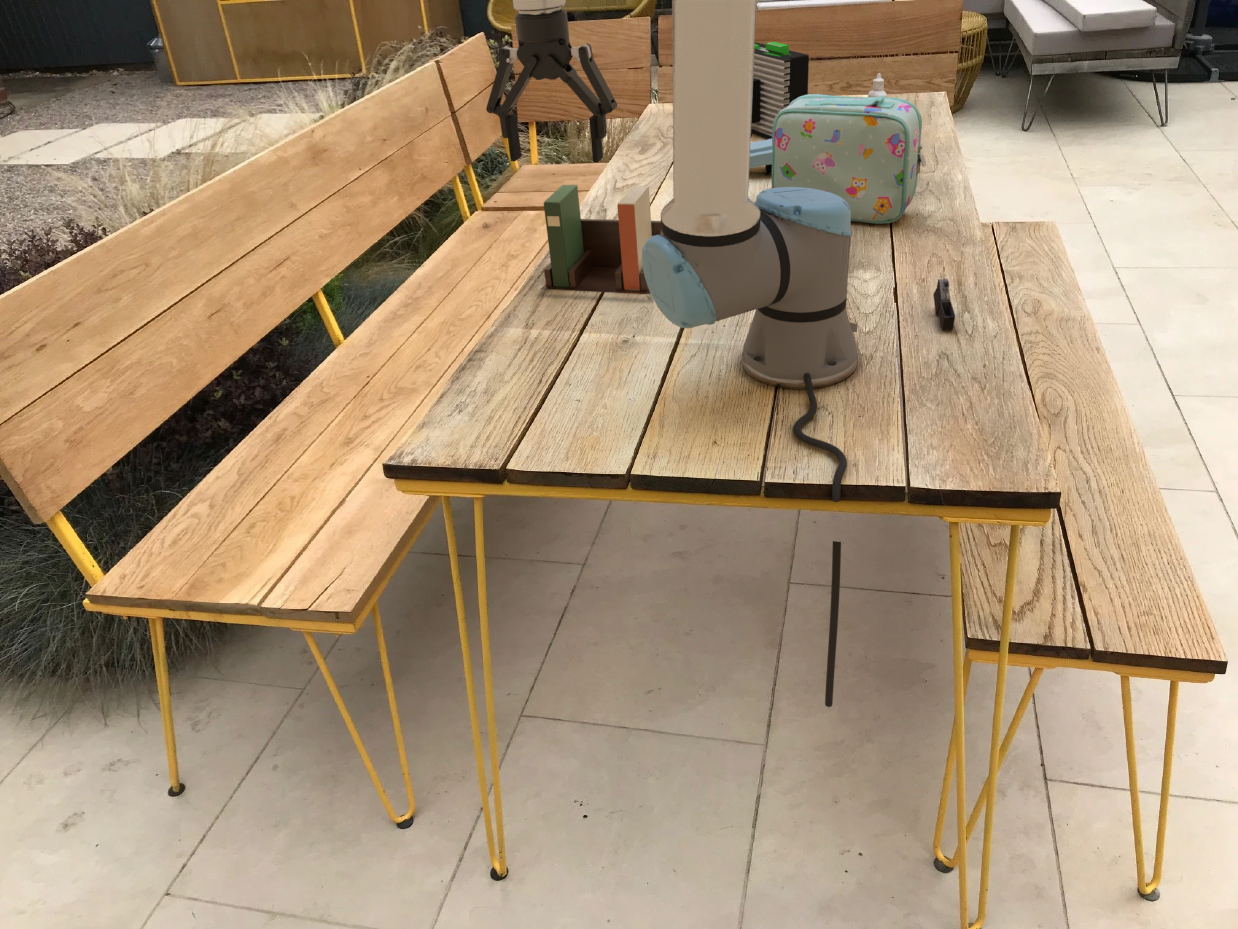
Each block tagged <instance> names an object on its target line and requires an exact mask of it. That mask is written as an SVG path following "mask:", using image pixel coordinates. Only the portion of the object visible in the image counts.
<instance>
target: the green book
mask: <svg viewBox="0 0 1238 929" xmlns="http://www.w3.org/2000/svg"><path fill="white" fill-rule="evenodd" d="M543 210H544V220H545V226H546V234H547V243H548V250H549V251H548V252H549V258H550V263H551V268H552V276H553V284H554V286H561V287H569V286H570V279H569V269H570V268H571V267H572V266H573V265H574V264H575V263H576V261H577V260H578V259H579V258H580V257H581V256H582V254H583V253H584V246H583V236H582V226H581V219H582V217H581V208H580V199H579V189H578V185H577V184H562V185H560V187H559V188H557V189H556V190H555V191H554V192H553V193H552V194H551V195H550V196H549V197H548V198H547V199H545V200H544V201H543Z"/></svg>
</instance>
